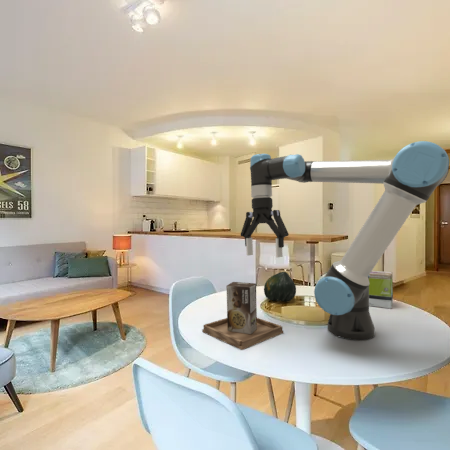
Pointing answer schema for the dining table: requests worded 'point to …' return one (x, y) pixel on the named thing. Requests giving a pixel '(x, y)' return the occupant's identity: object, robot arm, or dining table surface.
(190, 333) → the dining table surface
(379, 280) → the tea box
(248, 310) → the coffee box
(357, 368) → the dining table surface
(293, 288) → the squash
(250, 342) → the walnut tray
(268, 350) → the dining table surface
